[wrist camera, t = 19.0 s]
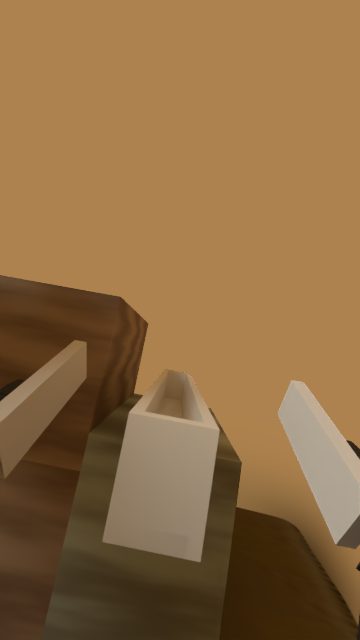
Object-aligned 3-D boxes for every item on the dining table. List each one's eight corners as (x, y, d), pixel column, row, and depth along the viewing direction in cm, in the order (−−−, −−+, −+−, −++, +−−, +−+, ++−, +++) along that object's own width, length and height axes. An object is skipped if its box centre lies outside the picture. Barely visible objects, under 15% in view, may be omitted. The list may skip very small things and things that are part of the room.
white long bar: (200, 562, 9) (219, 429, 9) (102, 542, 9) (129, 412, 9) (184, 405, 34) (189, 373, 35) (159, 400, 34) (165, 369, 35)
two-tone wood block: (206, 737, 15) (259, 322, 20) (-144, 657, 16) (-15, 272, 20) (191, 529, 33) (221, 336, 37) (27, 496, 34) (76, 310, 38)
